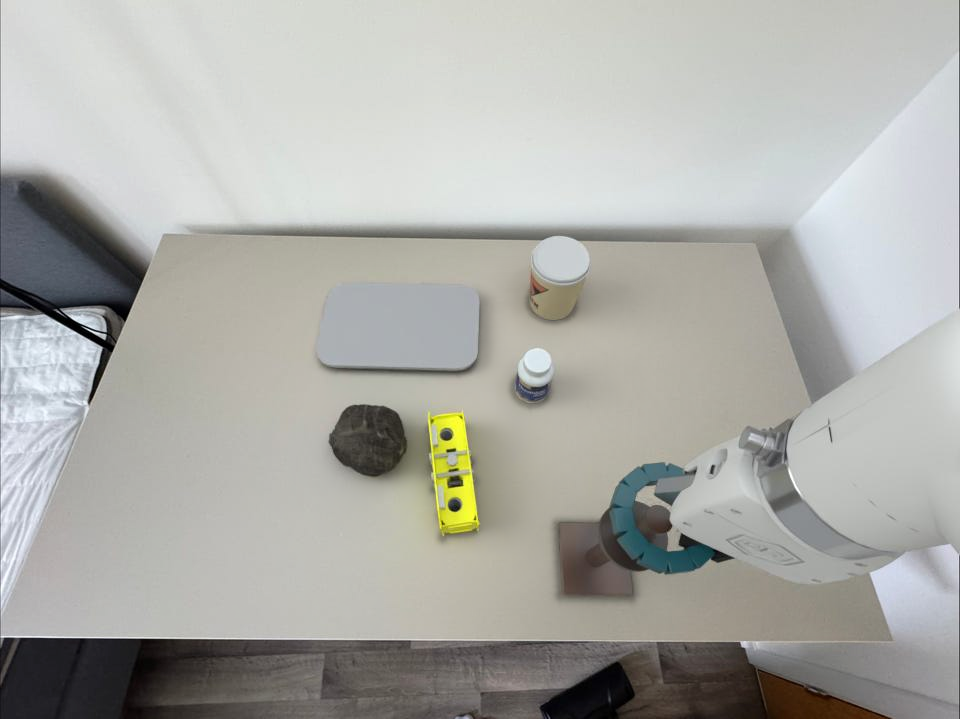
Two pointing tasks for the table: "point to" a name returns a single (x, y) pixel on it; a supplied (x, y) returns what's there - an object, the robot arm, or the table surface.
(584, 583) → the stand
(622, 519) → the ring
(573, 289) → the beige lidded canister
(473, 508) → the yellow toy chassis
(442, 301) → the tablet
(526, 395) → the pill bottle
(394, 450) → the rock
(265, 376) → the table surface
